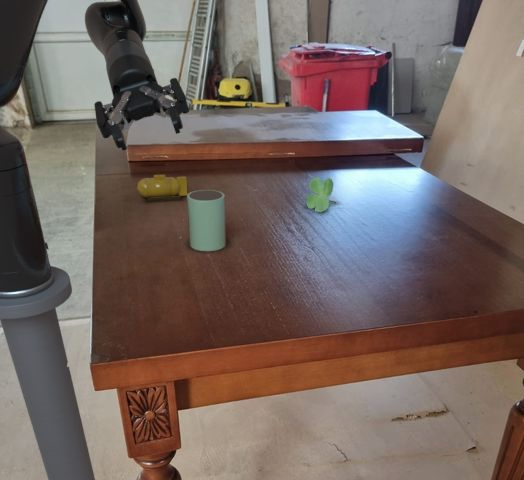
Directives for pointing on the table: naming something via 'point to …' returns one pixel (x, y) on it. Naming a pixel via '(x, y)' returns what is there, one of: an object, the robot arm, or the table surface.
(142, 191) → the yellow toy submarine
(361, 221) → the table surface
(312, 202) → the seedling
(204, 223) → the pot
